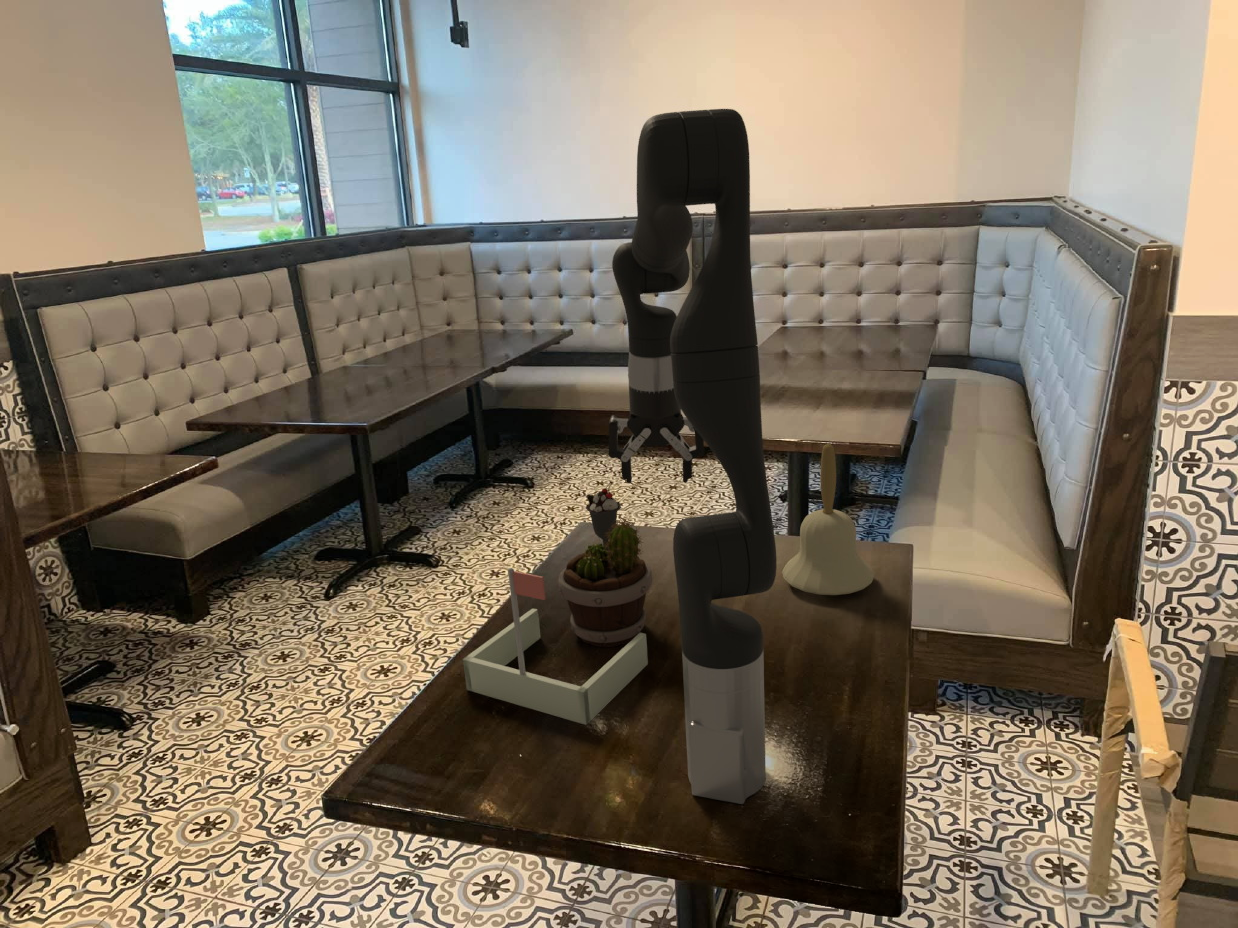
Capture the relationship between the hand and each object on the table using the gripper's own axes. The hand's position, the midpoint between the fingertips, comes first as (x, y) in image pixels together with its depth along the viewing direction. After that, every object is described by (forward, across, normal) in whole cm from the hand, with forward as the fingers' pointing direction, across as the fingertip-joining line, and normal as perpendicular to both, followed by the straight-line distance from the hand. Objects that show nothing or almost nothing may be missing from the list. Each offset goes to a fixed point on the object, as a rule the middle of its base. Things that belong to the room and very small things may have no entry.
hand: (657, 480), depth 137 cm
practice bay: (+23, -15, -18) cm, 32 cm away
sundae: (+28, -11, +25) cm, 39 cm away
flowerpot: (+24, -8, -5) cm, 26 cm away
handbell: (+25, +28, +10) cm, 39 cm away
